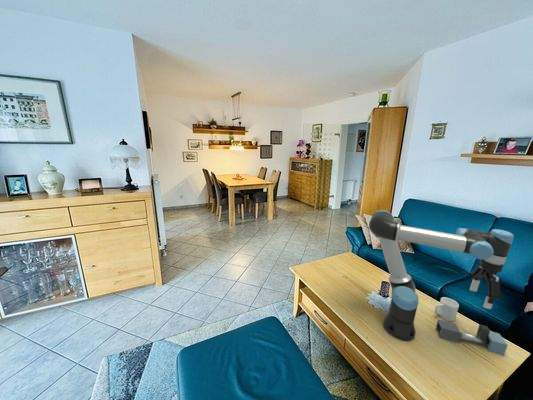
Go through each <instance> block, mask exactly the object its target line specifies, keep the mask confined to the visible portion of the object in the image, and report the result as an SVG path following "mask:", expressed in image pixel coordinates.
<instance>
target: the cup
mask: <svg viewBox="0 0 533 400" xmlns="http://www.w3.org/2000/svg"><path fill="white" fill-rule="evenodd" d="M459 306H460V305H459V303H458V302H457V301H456V300H455V299H452V298H449V297H446V296H445V297H444V296H443V297H440V301H439V303H438V304H436V306H435V307H434V313H435V314H436V315H438V316H439V317H440V318H441V319H442V320H443V321H447V322H454V321H455V320H456V317H457V314H458V310H459V308H460V307H459Z"/></svg>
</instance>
